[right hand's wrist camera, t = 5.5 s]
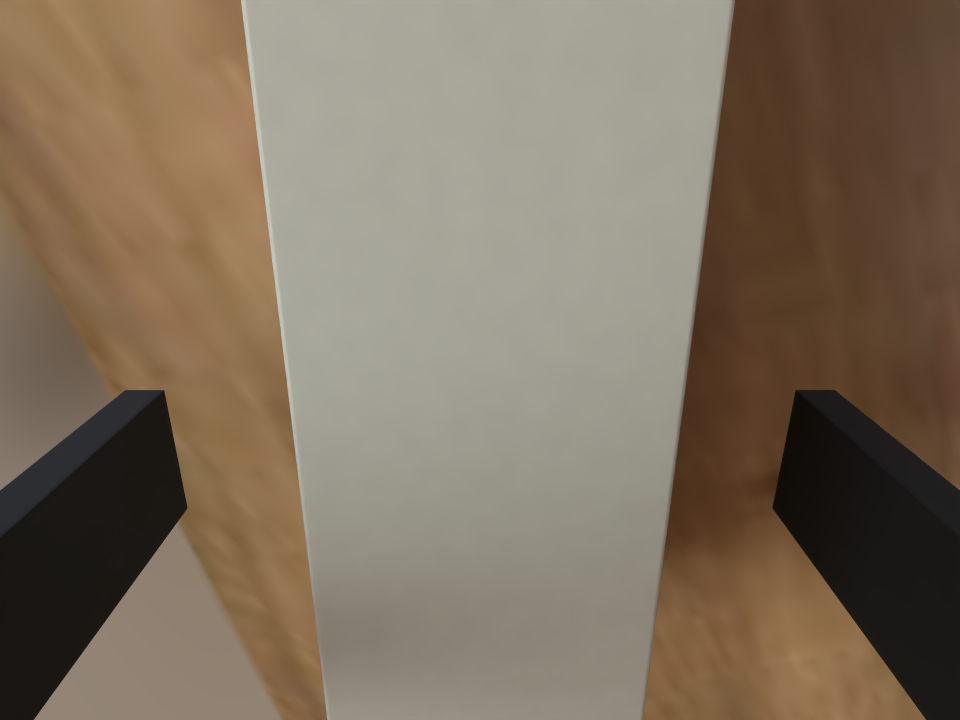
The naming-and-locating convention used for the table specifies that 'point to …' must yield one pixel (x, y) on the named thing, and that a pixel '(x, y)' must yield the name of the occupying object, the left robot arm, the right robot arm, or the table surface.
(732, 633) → the table surface
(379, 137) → the beam
